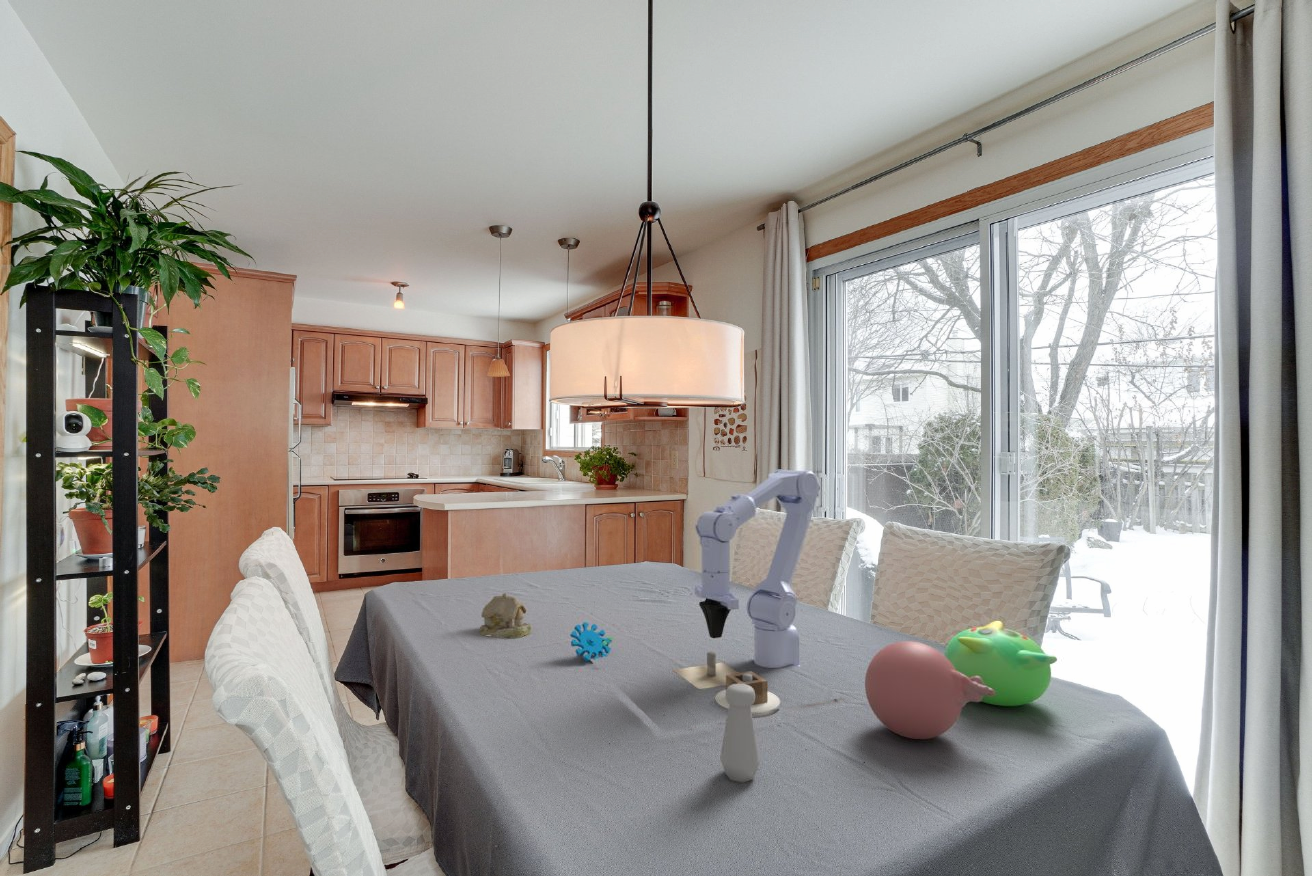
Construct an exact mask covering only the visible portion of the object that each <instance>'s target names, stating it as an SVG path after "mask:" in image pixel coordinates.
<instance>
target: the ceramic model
mask: <svg viewBox="0 0 1312 876" xmlns="http://www.w3.org/2000/svg"><path fill="white" fill-rule="evenodd" d="M509 595H510V594H509V593H502V595H494V596H493V597H492V599H491V600H490V601H489V602H488V603H487V604H485V605H484V607H483V609H482V612H481V618H484V621H483V622H484V624H482V625H481V626H480V627H479V633H480V634H481V633H482V634H483V635H482V634H481V635H482V636H484V635H491V636H498V637H497V638H500V637H518V638H522V637H524V635H525V636H526V635H529V634H530V633H531V630H532V624H531V623H530V622H529V623H525V622H524V618H525V614H526V613H527V608H526V606H525V605H524V603H522V602H521V601H520V600H518V598H517V597H515V596H509Z"/></svg>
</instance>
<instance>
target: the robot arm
mask: <svg viewBox="0 0 1312 876" xmlns="http://www.w3.org/2000/svg"><path fill="white" fill-rule="evenodd" d="M819 491H820V485H819V481H818V478H817V476H816V473H815V472H813V471H812V470H808V469H807V470H794V469H793V470H791V469H790V470H788V469H782V468H781V469H775V470H774V471H773V472H770V473H768V474H767V478H766V479H765V480H764V481H763V482H761V483H760V484H759V485H758V486H756V487H755V488H754V489H753V490H751V491H750V492H748V493H747V494H743V493H734V494H732V495H731V496H730V497H731V498H730V499H729V500H728V501H726V502H725V503H723V504H722V505H721V504H718V505H717V506H716V508H715V509H714V510H713V511H705V512H703V513H702V514H701V515H700V516H699V518H698V520H697V523H696V525H695V528H694V529H695V533H696V534H697V535H698V537H699V545H700V547H701V584H698V585H697V584H696V585H694V595H696V597H698V598H700V599H705V600H704V601H700V602H698V605H699V607H700V609H701V611H702V612H703V616H704V619H705V621H706V625H707V631H708V635H709V637H710V638H712V639H718V638H722V636H723V633H724V628H725V624H726V621H727V618H728V616H729V614H730V612H731V611H732V610H739V607H740V606H739V605H740V604H739V601H740V600H739V598H737V597H735V595H734V594H733V593H732V592H731V591H730V588H731V587H730V585H731V583H730V577H731V576H730V574H731V573H730V572H731V570H730V569H731V568H730V563H731V562H730V560H731V559H730V557H731V556H730V551H731V550H730V549H731V547H730V544H731V543H730V542H731V540H733V538H734V536H735V535H736V532H737V530H738V529H739V528H740V527H741V526H742V525H744V524H745V523H747V522H748V521H749V520H751V519H752V518H754V517H755V515H756V510H757V508H759V507H761V506H763V505H764V504H767V502H770V501H771V500H773V499H776V500H777V503H779V505H780V507H781V508H783V509H784V511H785V512H786V516H785V520H784V522H783V525H782V529H781V532H780V535H779V538H778V541H777V545H776V547H775V551H774V554H773V557H772V560H771V563H770V566H769V569H768V573H767V576H766V578H765V579H763V580H762V581H760V582H759V583H757V584H755V587H754V590H753V592H752V594H751V595H749V598H748V600H747V602H746V613H747V616H748V617H749V618H750V619H751V624H752V625H754V627H753V628H754V629H753V630H754V631H753V632H754V633H753V636H754V637H753V639H754V640H753V641H754V642H753V643H754V644H753V647H754V648H753V653H754V654H753V662H754V664H755V665H757V666H760V667H763V668H770V669H779V668H784V667H786V666H791V665H795V666H797V667H799V668H802V665H800V636H799V632H798V630H797V627H795V625H794V624H793V622H794V621H795V617H796V611H797V610H796V604H797V601H798V596H797V595H796V593H795V592H794V590H793V589H792V587H791V586H792V585H791V584H792V581H793V578H794V575H795V572H796V568H797V564H798V562H799V558H800V557H801V556H800V555H801V553H802V549H803V546H804V543H805V539H806V537H807V533H808V530H809V526H810V523H811V520H812V517H813V510H814V507H815V505H816V502H817V501H816V500H817V498H818V494H819Z"/></svg>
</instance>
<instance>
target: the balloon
mask: <svg viewBox="0 0 1312 876" xmlns="http://www.w3.org/2000/svg"><path fill="white" fill-rule="evenodd" d="M864 678H865V679H864V688H865V689H864V691H865V695H866V699H867V702H868V704H869V706H870V709H871V710H872V712H873V714H874V715H875V716H876V718H877V719H878V720H879V721H880V723H882V724H883V725H884V726H885V727H886V728H888V729H889V730H890V731H891V732H893V733H895V734H897V735H899V736H902V737H905V738H908V739H914V740H927V739H933V738H937V737H938V736H941V735H944V734H945V733H946V732H948V731H949V730H950V729H951V728H952V727H953V726H954V725H955V723H956V722H957V721H958V719H959V718H960V715H961V712H962V710H963V707H965V706H966V705H967V703H970V702H973V703H980V702H982V701H981V700H982V698H983V696H984V695H986V696H994V695H995V691H994V690H993V689H992V688H990V687H987V686H985V684H984V683H983V681H982V679H981V677H979V676H973V677H971V678H968V677H967V676H966V675H964V674H962V673H960V672H958V671H956V669H955V668H954V666H953V665H952V663H951V662H950V661H949V660H948V659H947V658H946V657H945V654H943V653H942V652H940V651H939V650H937V649H936V648H934V647H932V646H930V645H929V644H925V643H922V642H918V641H911V640H910V641H909V640H905V641H898V642H894V643H890V644H888V645H885V647H883V648H882V649H880V650H879V651H878V652H877V653H876V654H875V655H874V656H873V658H872V659H871V661H870V662H869V664H868V667H867V669H866V673H865V677H864Z"/></svg>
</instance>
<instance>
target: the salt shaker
mask: <svg viewBox="0 0 1312 876" xmlns="http://www.w3.org/2000/svg"><path fill="white" fill-rule="evenodd" d="M725 690H726V701H727V702H728V703H729V704H730V705H729V709H728V712H727V717H726V722H725V726H724V727H725V728H724V734H723V739H722V743H721V745H722V746H721V748H720V749H721V750H720V755H719V756H720V757H719V758H720V762H721V765H722V769H723V770H724V773H725V775H726V776H727V777H728V778H729V779H731V781H732V782H739V783H746V782H749V781H753V780H754V779H755V776H756V773H757V771H758V768H759V766H760V764H761V756H760V751H759V746H758V740H757V735H756V729H755V725H754V718H752V714H753V713H752V712H751V705H753V704H754V702H755V691H754V689H753V688H752V687H751V686H749V685H746V684H733V685H730V686H729V687H728V688H727V689H726V688H725Z"/></svg>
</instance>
